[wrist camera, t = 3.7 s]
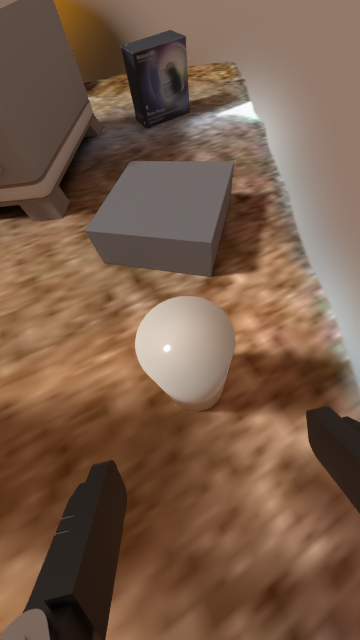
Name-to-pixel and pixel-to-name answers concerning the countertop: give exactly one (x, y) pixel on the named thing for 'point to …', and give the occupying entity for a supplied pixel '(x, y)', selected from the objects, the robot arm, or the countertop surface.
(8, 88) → the toaster
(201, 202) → the plinth
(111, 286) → the countertop surface
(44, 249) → the countertop surface
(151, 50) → the small box
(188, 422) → the countertop surface
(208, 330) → the beige piece
